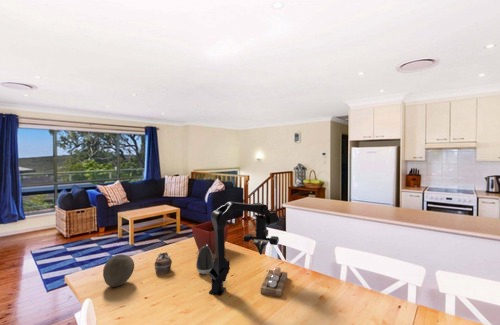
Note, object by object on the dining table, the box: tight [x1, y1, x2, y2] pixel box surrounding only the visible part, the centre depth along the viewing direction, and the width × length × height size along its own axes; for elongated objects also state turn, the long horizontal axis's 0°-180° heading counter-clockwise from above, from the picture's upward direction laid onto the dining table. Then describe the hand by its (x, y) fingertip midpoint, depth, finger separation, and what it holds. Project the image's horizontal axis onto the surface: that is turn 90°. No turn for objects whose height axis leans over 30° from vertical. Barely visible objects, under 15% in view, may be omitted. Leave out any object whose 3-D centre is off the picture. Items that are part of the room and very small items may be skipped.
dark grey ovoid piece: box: [195, 244, 215, 275], centre depth 141 cm, size 10×10×15 cm
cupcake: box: [153, 252, 173, 275], centre depth 143 cm, size 10×10×10 cm
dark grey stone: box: [102, 254, 135, 288], centre depth 128 cm, size 14×14×15 cm
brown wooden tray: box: [260, 269, 288, 298], centre depth 127 cm, size 19×10×3 cm, turn 163°
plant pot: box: [191, 220, 230, 254], centre depth 174 cm, size 19×19×17 cm
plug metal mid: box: [271, 274, 279, 283], centre depth 127 cm, size 4×4×5 cm
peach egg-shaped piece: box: [272, 266, 282, 278], centre depth 132 cm, size 4×4×5 cm
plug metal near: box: [268, 279, 277, 289], centre depth 122 cm, size 4×4×5 cm
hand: (261, 254), depth 135 cm, fingers closed
